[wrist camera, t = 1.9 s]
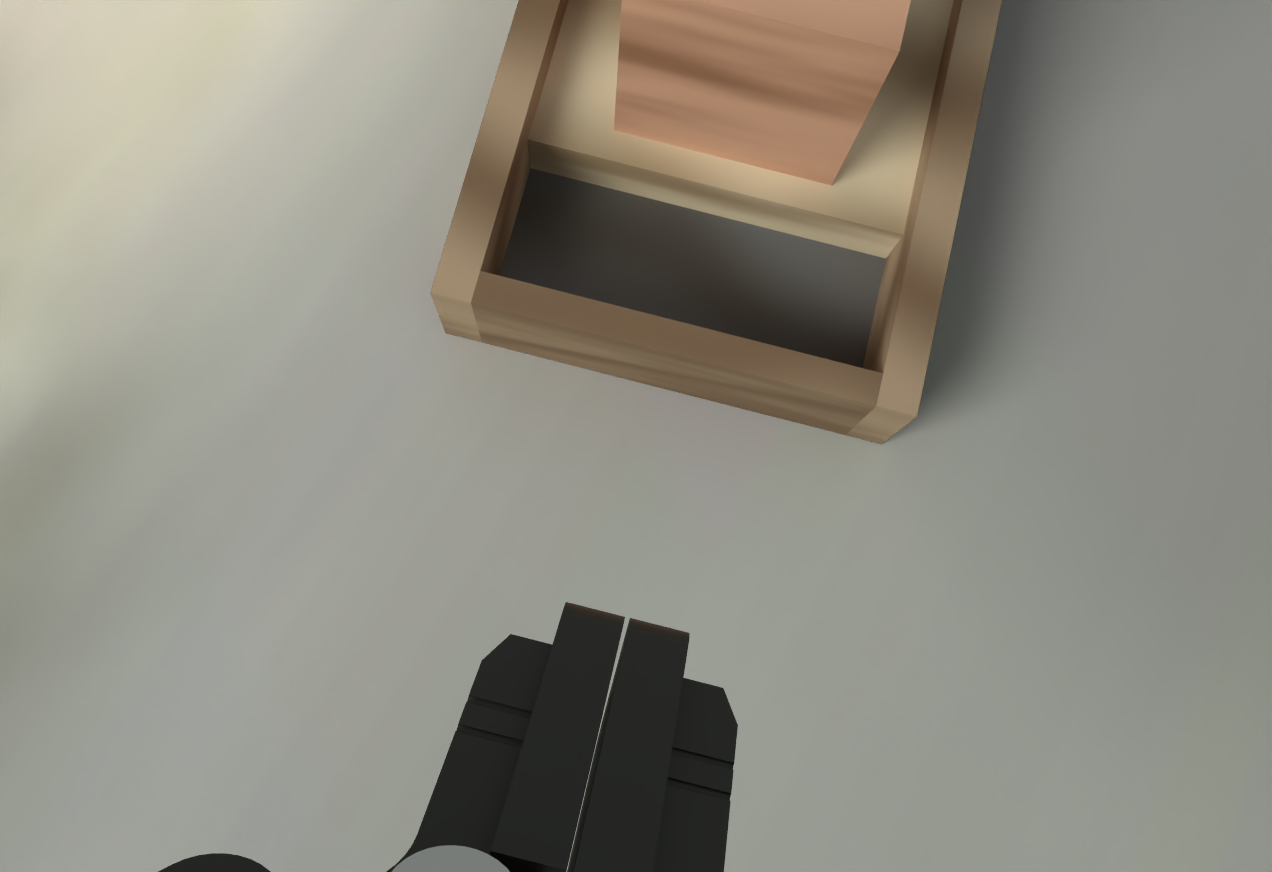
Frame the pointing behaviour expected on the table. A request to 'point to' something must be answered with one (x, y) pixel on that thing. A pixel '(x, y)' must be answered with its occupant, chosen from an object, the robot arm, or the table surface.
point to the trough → (716, 230)
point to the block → (756, 77)
